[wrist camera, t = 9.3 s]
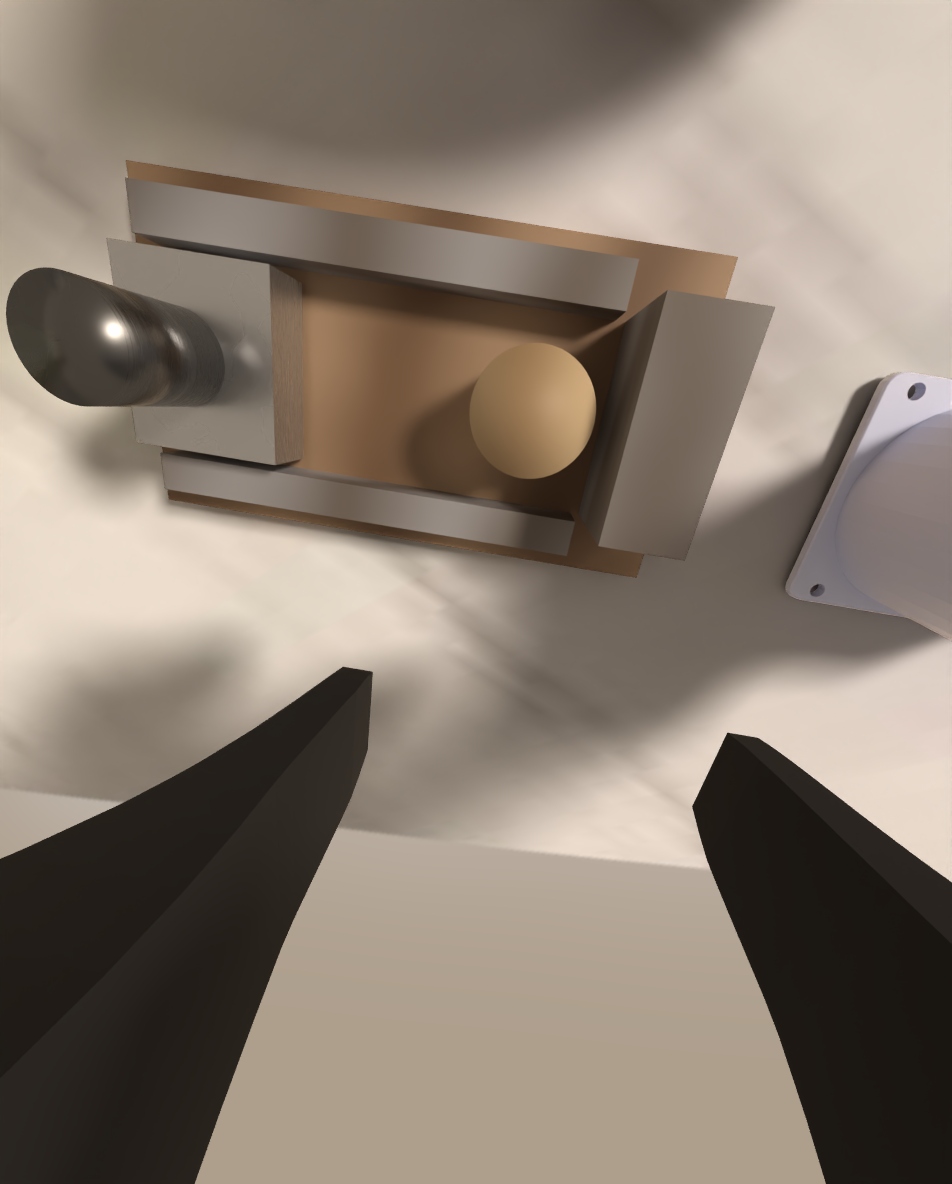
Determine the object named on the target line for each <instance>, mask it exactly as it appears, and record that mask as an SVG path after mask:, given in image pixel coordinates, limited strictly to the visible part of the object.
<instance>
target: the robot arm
mask: <svg viewBox="0 0 952 1184" xmlns="http://www.w3.org/2000/svg"><path fill="white" fill-rule="evenodd" d="M912 385H914V386H915V388H916V389H915V393H914V395H913V396H912V397H911V398H910V399H908V396H907V393H908V390H909V388H910V387H911V386H912ZM816 584H818V588H817V589H816V591H814V592H812V593H810V589H811V588H812V587H813V586H814V585H816ZM785 589H786V592H787V593H788V594H789V595H790V596H792V597H793V598H795V599H798V600H804V601H810V602H816V603H822V604H828V605H833V606H839V607H845V608H851V609H857V610H863V611H869V612H875V613H881V614H887V615H893V616H899V617H905V618H909V619H911V620H913V621H915V622H917V623H919V624H920V625H922V626H924V627H926V628H928V629H930V630H932V631H934V632H936V633H937V634H939V635H941V636H943V637H945V638H947V639H949V640H951V641H952V379H949V378H942V377H936V376H930V375H924V374H918V373H911V372H900V373H893V374H890V375H888V376H886V377H885V378H884V379H883V380H882V381H881V382H880V383H879V385H878V386H877V388H876V390H875V393H874V395H873V397H872V399H871V401H870V403H869V406H868V408H867V410H866V412H865V414H864V416H863V418H862V421H861V423H860V425H859V427H858V429H857V431H856V434H855V436H854V438H853V440H852V442H851V444H850V447H849V449H848V451H847V453H846V455H845V457H844V459H843V462H842V464H841V466H840V468H839V470H838V472H837V475H836V477H835V479H834V481H833V483H832V485H831V487H830V490H829V492H828V494H827V496H826V498H825V500H824V503H823V505H822V507H821V509H820V511H819V513H818V515H817V518H816V520H815V522H814V524H813V526H812V528H811V531H810V533H809V535H808V537H807V539H806V541H805V544H804V546H803V548H802V550H801V552H800V554H799V556H798V559H797V561H796V563H795V565H794V567H793V569H792V572H791V574H790V576H789V578H788V580H787V582H786V586H785ZM372 675H373V672H371V671H365V670H359V669H353V668H347V667H342V668H341V669H339V670H338V671H336V672H335V673H333V674H332V675H330V676H329V677H328V678H326V679H325V680H323V681H322V682H321V683H319V684H318V685H316V686H315V687H314V688H312V689H311V690H309V691H308V692H307V693H305V694H304V695H302V696H301V697H300V698H298V699H297V700H295V701H294V702H292V703H291V704H290V705H288V706H287V707H285V708H284V709H282V710H281V711H279V712H278V713H276V714H275V715H273V716H272V717H270V718H269V719H268V720H266V721H265V722H263V723H262V724H260V725H259V726H257V727H256V728H254V729H253V730H251V731H249V732H248V733H246V734H245V735H243V736H241V737H240V738H238V739H237V740H235V741H233V742H232V743H230V744H229V745H227V746H225V747H224V748H222V749H220V750H219V751H217V752H216V753H214V754H212V755H211V756H209V757H207V758H206V759H204V760H202V761H201V762H199V763H197V764H195V765H194V766H192V767H190V768H188V769H186V770H185V771H183V772H181V773H179V774H177V775H176V776H174V777H172V778H170V779H168V780H166V781H164V782H162V783H161V784H159V785H157V786H155V787H153V788H151V789H149V790H147V791H145V792H143V793H141V794H140V795H138V796H136V797H134V798H132V799H130V800H128V801H126V802H124V803H122V804H120V805H118V806H116V807H114V808H112V809H109V810H107V811H105V812H103V813H101V814H99V815H96V816H94V817H92V818H90V819H88V820H86V821H83V822H81V823H79V824H77V825H75V826H73V827H70V828H68V829H66V830H64V831H62V832H60V833H57V834H55V835H53V836H51V837H49V838H46V839H44V840H42V841H40V842H38V843H36V844H34V845H32V846H29V847H27V848H25V849H23V850H20V851H18V852H15V853H13V854H11V855H9V856H6V857H4V858H1V859H0V1184H195V1181H196V1178H197V1175H198V1173H199V1170H200V1167H201V1164H202V1161H203V1158H204V1155H205V1153H206V1150H207V1147H208V1144H209V1142H210V1139H211V1136H212V1133H213V1130H214V1128H215V1125H216V1122H217V1119H218V1116H219V1114H220V1111H221V1108H222V1105H223V1102H224V1100H225V1097H226V1094H227V1092H228V1089H229V1086H230V1083H231V1081H232V1078H233V1075H234V1073H235V1070H236V1067H237V1064H238V1062H239V1059H240V1056H241V1054H242V1051H243V1048H244V1045H245V1043H246V1040H247V1037H248V1034H249V1032H250V1029H251V1026H252V1024H253V1021H254V1018H255V1016H256V1013H257V1010H258V1008H259V1005H260V1003H261V1000H262V997H263V995H264V992H265V989H266V987H267V984H268V982H269V979H270V976H271V973H272V971H273V968H274V966H275V963H276V960H277V958H278V955H279V953H280V950H281V947H282V945H283V943H284V941H285V938H286V936H287V934H288V931H289V929H290V927H291V924H292V922H293V920H294V918H295V915H296V913H297V911H298V909H299V907H300V905H301V903H302V901H303V898H304V896H305V894H306V892H307V890H308V888H309V886H310V884H311V882H312V880H313V877H314V875H315V873H316V871H317V869H318V867H319V865H320V863H321V861H322V859H323V856H324V854H325V852H326V850H327V848H328V846H329V844H330V841H331V840H332V837H333V835H334V833H335V831H336V829H337V827H338V825H339V823H340V821H341V818H342V816H343V814H344V812H345V810H346V808H347V806H348V803H349V801H350V799H351V797H352V794H353V791H354V788H355V785H356V782H357V780H358V777H359V774H360V771H361V768H362V765H363V762H364V759H365V756H366V753H367V750H368V735H369V720H370V705H371V690H372ZM692 807H693V811H694V815H695V819H696V823H697V827H698V831H699V835H700V838H701V841H702V845H703V848H704V851H705V855H706V858H707V861H708V864H709V866H710V869H711V871H712V874H713V876H714V879H715V881H716V884H717V886H718V889H719V891H720V893H721V896H722V898H723V901H724V903H725V905H726V908H727V910H728V913H729V915H730V918H731V920H732V922H733V925H734V927H735V929H736V932H737V934H738V937H739V939H740V941H741V943H742V946H743V948H744V951H745V953H746V956H747V958H748V960H749V963H750V965H751V968H752V970H753V972H754V974H755V977H756V979H757V982H758V984H759V987H760V989H761V991H762V994H763V996H764V999H765V1001H766V1004H767V1006H768V1009H769V1011H770V1014H771V1017H772V1019H773V1022H774V1024H775V1027H776V1030H777V1032H778V1035H779V1038H780V1041H781V1044H782V1047H783V1050H784V1053H785V1056H786V1059H787V1062H788V1065H789V1068H790V1071H791V1074H792V1077H793V1080H794V1083H795V1086H796V1089H797V1092H798V1095H799V1098H800V1101H801V1104H802V1107H803V1111H804V1114H805V1116H806V1120H807V1123H808V1126H809V1129H810V1133H811V1136H812V1139H813V1142H814V1146H815V1149H816V1152H817V1156H818V1159H819V1162H820V1166H821V1169H822V1172H823V1175H824V1179H825V1182H826V1184H952V882H950V881H949V880H948V879H946V878H945V877H943V876H942V875H941V874H939V873H938V872H937V871H935V870H934V869H932V868H931V867H930V866H928V865H927V864H925V863H924V862H923V861H921V860H920V859H919V858H917V857H916V856H915V855H913V854H912V853H911V852H909V851H908V850H907V849H905V848H904V847H903V846H901V845H900V844H899V843H897V842H896V841H895V840H893V839H892V838H891V837H889V836H888V835H887V834H885V833H884V832H883V831H881V830H880V829H879V828H877V827H876V826H875V825H874V824H872V823H871V822H870V821H868V820H867V819H866V818H864V817H863V816H862V815H861V814H859V813H858V812H857V811H855V810H854V809H853V808H851V807H850V806H849V805H848V804H846V803H845V802H844V801H842V800H841V799H840V798H839V797H837V796H836V795H835V794H833V793H832V792H831V791H830V790H828V789H827V788H826V787H824V786H823V785H822V784H820V783H819V782H818V781H817V780H815V779H814V778H813V777H811V776H810V775H809V774H808V773H806V772H805V771H804V770H802V769H801V768H800V767H798V766H797V765H796V764H794V763H793V762H792V761H790V760H789V759H788V758H786V757H785V756H784V755H782V754H781V753H779V752H778V751H777V750H775V749H774V748H772V747H771V746H769V745H768V744H766V743H765V742H763V741H762V740H760V739H759V738H755V737H750V736H744V735H738V734H732V733H727V735H726V737H725V739H724V741H723V743H722V745H721V747H720V749H719V752H718V754H717V756H716V758H715V760H714V762H713V764H712V766H711V768H710V770H709V773H708V775H707V777H706V779H705V781H704V783H703V785H702V787H701V789H700V791H699V794H698V796H697V798H696V800H695V802H694V804H693V806H692Z"/></svg>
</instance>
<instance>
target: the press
mask: <svg viewBox="0 0 952 1184" xmlns="http://www.w3.org/2000/svg"><path fill="white" fill-rule="evenodd" d="M126 164H127V172H128V178H125V181H126V189H127V196H128V204H129V212H130V220H131V227H132V232H133V233H135V236H136V243H141V244H147V245H153V246H159V247H166V248H172V249H178V250H184V251H191V252H197V253H203V254H209V255H215V256H222V257H228V258H234V259H240V260H247V261H253V262H259V263H265V264H270V265H272V266H273V267H275V268H277V269H278V270H280V271H282V272H283V273H285V274H287V275H288V276H290V277H292V278H294V279H295V280H297V281H299V282H300V283H302V284H303V459H299V460H295V461H291V462H287V463H283V464H278V465H271V464H265V463H259V462H253V461H247V460H241V459H235V458H229V457H222V456H216V455H210V454H204V453H198V452H192V451H186V450H180V449H174V448H168V447H162V449H163V453H161V460H162V468H163V476H164V484H165V489H168V496H169V499H170V500H176V501H182V502H188V503H194V504H200V505H206V506H212V507H218V508H224V509H230V510H235V511H241V512H247V513H253V514H259V515H265V516H271V517H277V518H283V519H289V520H295V521H301V522H307V523H313V524H319V525H325V526H331V527H337V528H343V529H349V530H355V531H361V532H367V533H373V534H379V535H385V536H391V537H397V538H403V539H409V540H414V541H420V542H426V543H432V544H438V545H444V546H450V547H456V548H462V549H468V550H474V551H480V552H486V553H492V554H498V555H504V556H510V557H516V558H522V559H528V560H534V561H540V562H546V563H552V564H558V565H564V566H570V567H576V568H582V569H588V570H593V571H599V572H605V573H611V574H617V575H623V576H629V577H635V578H637V575H638V571H639V568H640V565H641V562H642V559H643V556H644V554H648V555H654V556H660V557H666V558H672V559H678V560H684V561H685V558H686V555H687V553H688V550H689V547H690V544H691V541H692V539H693V536H694V533H695V530H696V527H697V525H698V522H699V519H700V516H701V513H702V511H703V508H704V505H705V502H706V499H707V497H708V494H709V491H710V488H711V485H712V483H713V480H714V477H715V474H716V471H717V469H718V466H719V463H720V460H721V457H722V455H723V452H724V449H725V446H726V443H727V441H728V438H729V435H730V432H731V429H732V427H733V424H734V421H735V418H736V415H737V413H738V410H739V407H740V404H741V401H742V399H743V396H744V393H745V390H746V387H747V385H748V382H749V379H750V376H751V373H752V371H753V368H754V365H755V362H756V359H757V357H758V354H759V351H760V348H761V345H762V343H763V340H764V337H765V334H766V331H767V329H768V326H769V323H770V320H771V317H772V315H773V312H774V309H775V307H773V306H766V305H760V304H754V303H748V302H741V301H735V300H729V299H725V297H726V293H727V290H728V287H729V284H730V281H731V278H732V274H733V271H734V268H735V265H736V262H737V259H738V257H734V256H728V255H722V254H715V253H709V252H703V251H696V250H690V249H684V248H677V247H671V246H665V245H658V244H652V243H646V242H640V241H633V240H627V239H621V238H614V237H608V236H602V235H595V234H589V233H583V232H576V231H570V230H564V229H557V228H551V227H545V226H538V225H532V224H526V223H519V222H513V221H507V220H500V219H494V218H488V217H481V216H475V215H469V214H463V213H456V212H450V211H444V210H437V209H431V208H425V207H418V206H412V205H406V204H399V203H393V202H387V201H380V200H374V199H368V198H361V197H355V196H349V195H342V194H336V193H330V192H323V191H317V190H311V189H304V188H298V187H292V186H285V185H279V184H273V183H267V182H260V181H254V180H248V179H241V178H235V177H229V176H222V175H216V174H210V173H203V172H197V171H191V170H184V169H178V168H172V167H165V166H159V165H153V164H146V163H140V162H134V161H127V160H126ZM527 343H544V344H549V345H553V346H556V347H558V348H561V349H563V350H564V351H566V352H568V353H569V354H571V355H572V356H573V357H574V358H576V359H577V361H578V362H579V363H580V364H581V365H582V366H583V368H584V369H585V371H586V372H587V374H588V376H589V378H590V380H591V382H592V385H593V388H594V392H595V397H596V417H595V423H594V427H593V430H592V433H591V436H590V438H589V440H588V442H587V444H586V446H585V447H584V449H583V450H582V452H581V453H580V454H579V456H578V457H577V458H576V459H575V460H574V461H573V462H572V463H570V464H569V465H568V466H567V467H565V468H564V469H562V470H560V471H559V472H557V473H554V474H552V475H549V476H546V477H542V478H536V479H524V478H518V477H513V476H511V475H508V474H505V473H503V472H502V471H500V470H498V469H497V468H495V467H494V466H493V465H492V464H490V463H489V462H488V461H487V460H486V458H485V457H484V456H483V455H482V453H481V452H480V450H479V449H478V447H477V445H476V443H475V440H474V438H473V435H472V431H471V426H470V416H469V412H470V402H471V397H472V393H473V390H474V387H475V385H476V383H477V381H478V379H479V377H480V375H481V374H482V372H483V371H484V370H485V368H486V367H487V366H488V365H489V364H490V363H491V362H492V361H493V360H494V359H495V358H496V357H497V356H499V355H500V354H501V353H503V352H505V351H507V350H509V349H510V348H513V347H516V346H518V345H523V344H527Z"/></svg>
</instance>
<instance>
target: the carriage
mask: <svg viewBox="0 0 952 1184" xmlns="http://www.w3.org/2000/svg"><path fill="white" fill-rule="evenodd" d="M107 244H108V251H109V258H110V265H111V271H112V278H113V285H114V286H112V285H109V284H105V283H102V282H99V281H96V280H92V279H89V278H86V277H83V276H79V275H76V274H73V273H69V272H66V271H63V270H59V269H55V268H37V269H33V270H30V271H28V272H26V273H24V274H23V275H22V276H21V277H19V278H18V280H17V281H16V282H15V283H14V285H13V287H12V288H11V290H10V293H9V296H8V300H7V307H6V318H7V326H8V331H9V335H10V338H11V341H12V344H13V346H14V349H15V351H16V353H17V355H18V357H19V359H20V360H21V362H22V363H23V365H24V367H25V368H26V369H27V371H28V372H29V373H30V374H31V376H32V377H33V378H34V379H35V380H36V381H37V382H38V383H39V384H40V385H41V386H42V387H43V388H45V389H46V390H47V391H48V392H50V393H51V394H53V395H54V396H56V397H57V398H59V399H61V400H63V401H66V402H68V403H71V404H75V405H79V406H119V407H132V413H133V420H134V427H135V434H136V440H137V442H138V443H144V444H150V445H156V446H162V447H168V448H174V449H180V450H186V451H192V452H198V453H204V454H210V455H216V456H222V457H229V458H235V459H241V460H247V461H253V462H259V463H265V464H271V465H278V464H283V463H287V462H291V461H295V460H299V459H303V284H302V283H300V282H299V281H297V280H295V279H294V278H292V277H290V276H288V275H287V274H285V273H283V272H282V271H280V270H278V269H277V268H275V267H273V266H272V265H270V264H265V263H259V262H253V261H247V260H240V259H234V258H228V257H222V256H215V255H209V254H203V253H197V252H191V251H184V250H178V249H172V248H166V247H159V246H153V245H147V244H141V243H134V242H128V241H122V240H116V239H110V238H107Z"/></svg>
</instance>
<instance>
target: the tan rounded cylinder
mask: <svg viewBox="0 0 952 1184" xmlns="http://www.w3.org/2000/svg"><path fill="white" fill-rule="evenodd" d="M469 416H470V426H471V431H472V435H473V438H474V440H475V443H476V445H477V447H478V449H479V450H480V452H481V453H482V455H483V456H484V457H485V458H486V460H487V461H488V462H489V463H490V464H492V465H493V466H494V467H495V468H497V469H498V470H500V471H502V472H503V473H505V474H508V475H511V476H513V477H518V478H524V479H536V478H542V477H546V476H549V475H552V474H554V473H557V472H559V471H560V470H562V469H564V468H565V467H567V466H568V465H569V464H570V463H572V462H573V461H574V460H575V459H576V458H577V457H578V456H579V454H580V453H581V452H582V450H583V449H584V447H585V446H586V444H587V442H588V440H589V438H590V436H591V433H592V430H593V427H594V423H595V417H596V397H595V392H594V388H593V385H592V382H591V380H590V378H589V376H588V374H587V372H586V371H585V369H584V368H583V366H582V365H581V364H580V363H579V362H578V361H577V359H576V358H574V357H573V356H572V355H571V354H569V353H568V352H566V351H564V350H563V349H561V348H558V347H556V346H553V345H549V344H544V343H527V344H523V345H518V346H516V347H513V348H510V349H509V350H507V351H505V352H503V353H501V354H500V355H499V356H497V357H496V358H495V359H494V360H493V361H492V362H491V363H490V364H489V365H488V366H487V367H486V368H485V370H484V371H483V372H482V374H481V375H480V377H479V379H478V381H477V383H476V385H475V387H474V390H473V393H472V397H471V402H470V412H469Z"/></svg>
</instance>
